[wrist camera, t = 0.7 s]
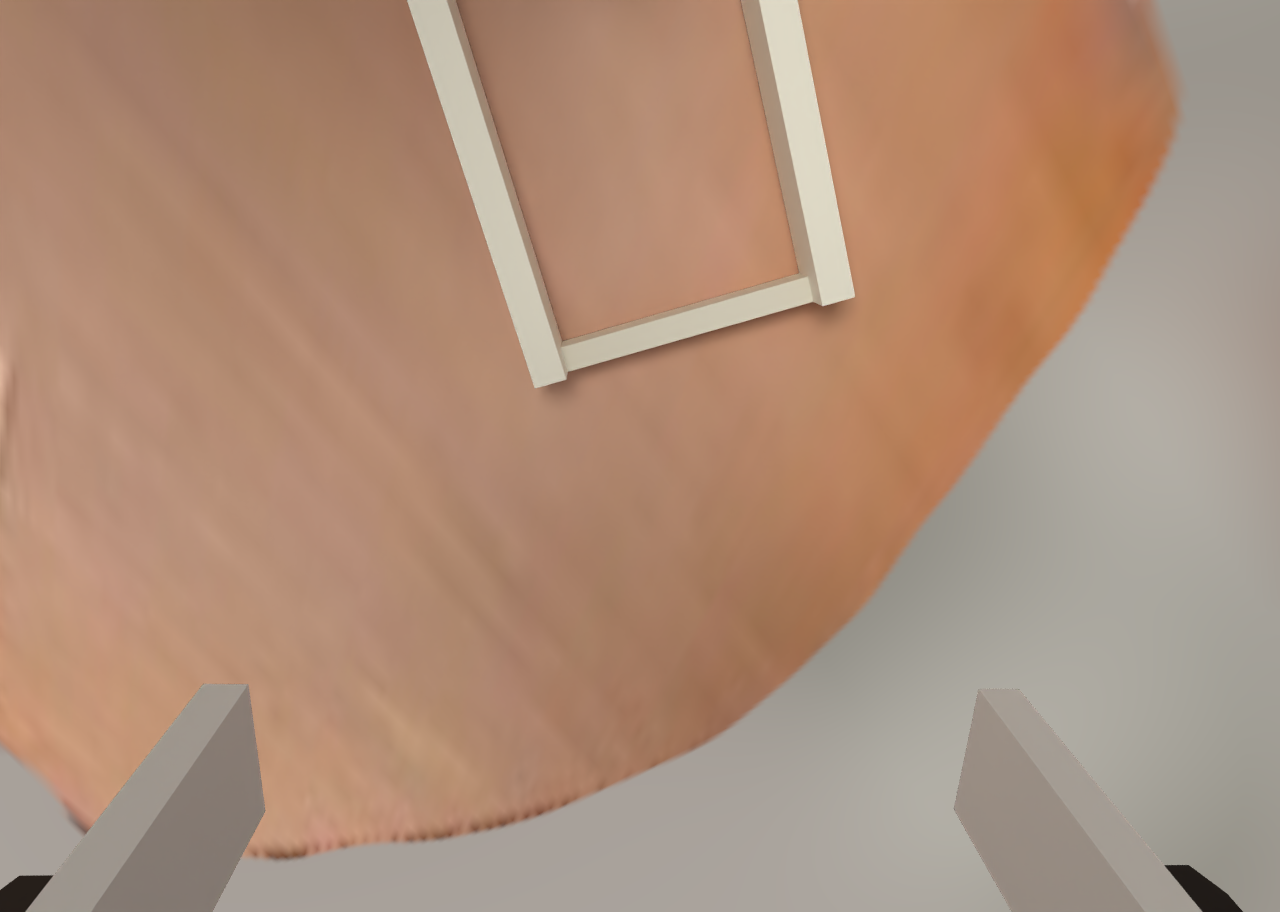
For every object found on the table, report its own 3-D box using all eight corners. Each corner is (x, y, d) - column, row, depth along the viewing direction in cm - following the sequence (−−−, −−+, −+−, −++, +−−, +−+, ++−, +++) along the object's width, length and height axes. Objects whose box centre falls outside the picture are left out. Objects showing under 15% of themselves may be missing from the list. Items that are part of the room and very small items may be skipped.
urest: (403, -49, 34) (382, -76, 31) (744, -156, 34) (759, -194, 31) (540, 372, 40) (534, 388, 37) (834, 288, 40) (855, 297, 36)
